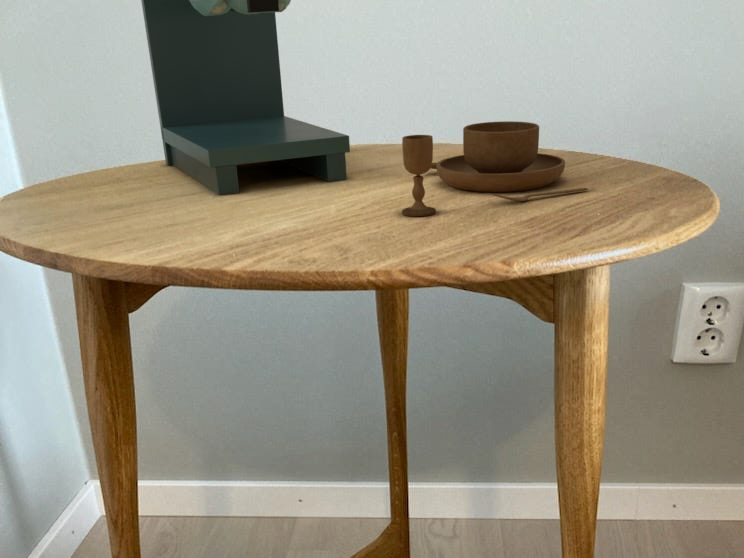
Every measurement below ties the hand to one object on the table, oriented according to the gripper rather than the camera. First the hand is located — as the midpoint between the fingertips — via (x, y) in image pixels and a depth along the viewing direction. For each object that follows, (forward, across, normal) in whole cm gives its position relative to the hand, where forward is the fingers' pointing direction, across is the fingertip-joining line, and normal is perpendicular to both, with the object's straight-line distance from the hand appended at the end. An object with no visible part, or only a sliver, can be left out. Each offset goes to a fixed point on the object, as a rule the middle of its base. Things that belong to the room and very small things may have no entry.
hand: (243, 11), depth 87 cm
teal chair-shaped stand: (+15, +3, 0) cm, 15 cm away
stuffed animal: (0, 0, 0) cm, 0 cm away
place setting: (+15, -18, -14) cm, 28 cm away
